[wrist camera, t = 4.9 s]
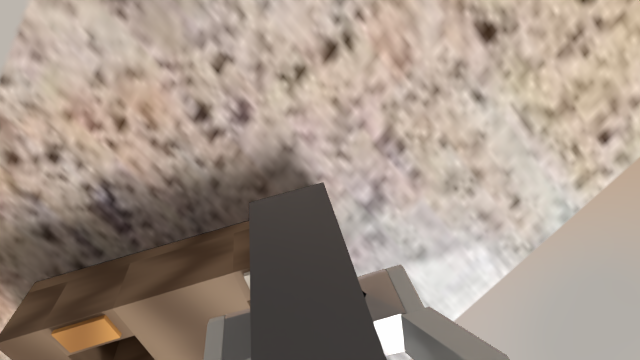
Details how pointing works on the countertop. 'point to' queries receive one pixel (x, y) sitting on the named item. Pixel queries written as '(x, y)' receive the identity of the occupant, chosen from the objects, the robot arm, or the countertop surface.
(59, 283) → the socket block
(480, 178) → the countertop surface
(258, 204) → the plug
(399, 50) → the countertop surface
